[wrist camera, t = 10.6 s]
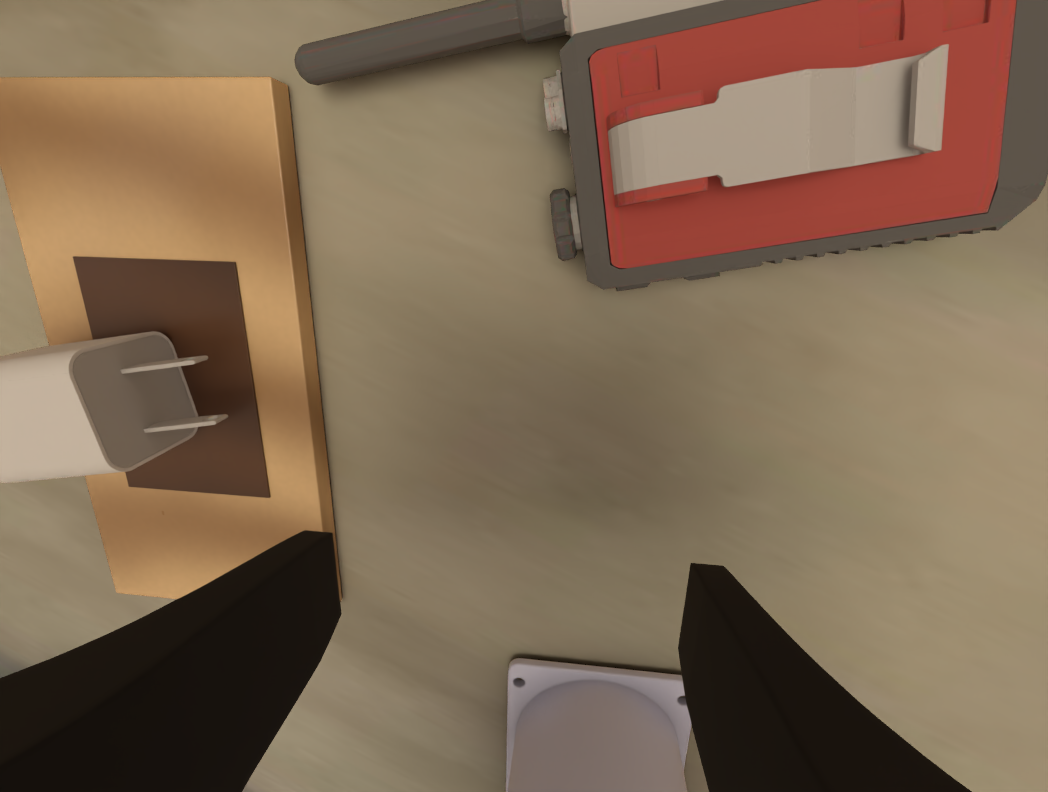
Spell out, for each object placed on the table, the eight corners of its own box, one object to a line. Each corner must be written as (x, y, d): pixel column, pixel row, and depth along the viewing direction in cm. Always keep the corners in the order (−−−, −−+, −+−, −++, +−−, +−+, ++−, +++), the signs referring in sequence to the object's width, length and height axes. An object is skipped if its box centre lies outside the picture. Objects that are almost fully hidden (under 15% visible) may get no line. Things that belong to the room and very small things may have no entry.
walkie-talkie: (1037, -136, 13) (310, 41, 16) (1250, -305, 9) (214, -24, 12) (999, 225, 16) (378, 319, 19) (1150, 225, 11) (319, 346, 14)
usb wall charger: (63, 342, 19) (-65, 371, 15) (232, 318, 18) (140, 342, 14) (105, 441, 20) (-5, 491, 16) (266, 424, 19) (188, 473, 15)
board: (342, 599, 23) (331, 617, 22) (134, 579, 24) (114, 594, 23) (288, 84, 17) (268, 75, 16) (8, 85, 17) (-29, 76, 16)
